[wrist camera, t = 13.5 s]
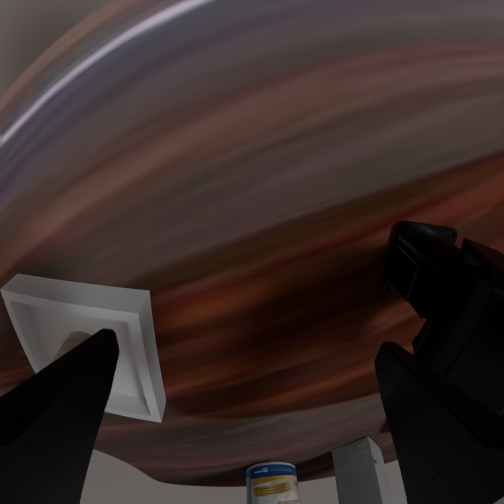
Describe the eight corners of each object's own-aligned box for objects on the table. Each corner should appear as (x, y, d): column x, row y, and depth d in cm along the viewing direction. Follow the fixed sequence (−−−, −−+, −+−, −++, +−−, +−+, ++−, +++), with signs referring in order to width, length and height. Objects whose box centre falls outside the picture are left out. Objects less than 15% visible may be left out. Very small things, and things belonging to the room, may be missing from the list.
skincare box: (380, 447, 37) (403, 522, 23) (343, 463, 39) (359, 537, 25) (367, 433, 34) (393, 522, 20) (324, 451, 36) (341, 538, 22)
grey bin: (149, 290, 23) (138, 313, 20) (166, 400, 29) (161, 422, 26) (17, 273, 22) (0, 289, 19) (56, 376, 28) (47, 394, 25)
